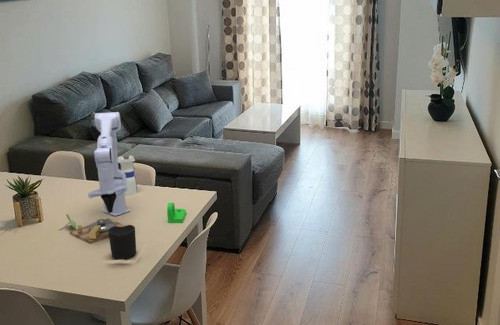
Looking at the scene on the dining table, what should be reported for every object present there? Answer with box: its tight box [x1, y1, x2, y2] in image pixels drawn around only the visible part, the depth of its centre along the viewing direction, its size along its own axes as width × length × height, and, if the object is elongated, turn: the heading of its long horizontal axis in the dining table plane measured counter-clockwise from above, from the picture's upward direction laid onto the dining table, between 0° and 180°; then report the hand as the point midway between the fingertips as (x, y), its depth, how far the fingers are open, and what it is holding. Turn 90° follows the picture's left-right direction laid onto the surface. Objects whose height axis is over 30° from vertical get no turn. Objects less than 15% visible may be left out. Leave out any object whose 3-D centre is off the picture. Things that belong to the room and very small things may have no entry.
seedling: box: [59, 213, 78, 231], centre depth 224 cm, size 7×8×6 cm
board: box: [69, 218, 127, 245], centre depth 221 cm, size 15×18×4 cm
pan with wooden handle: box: [88, 218, 114, 239], centre depth 219 cm, size 16×10×3 cm, turn 177°
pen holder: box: [108, 224, 137, 261], centre depth 199 cm, size 9×9×10 cm
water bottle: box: [117, 142, 138, 196], centre depth 259 cm, size 8×9×25 cm
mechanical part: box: [166, 202, 187, 224], centre depth 233 cm, size 12×6×8 cm, turn 177°
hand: (110, 211), depth 213 cm, fingers closed
